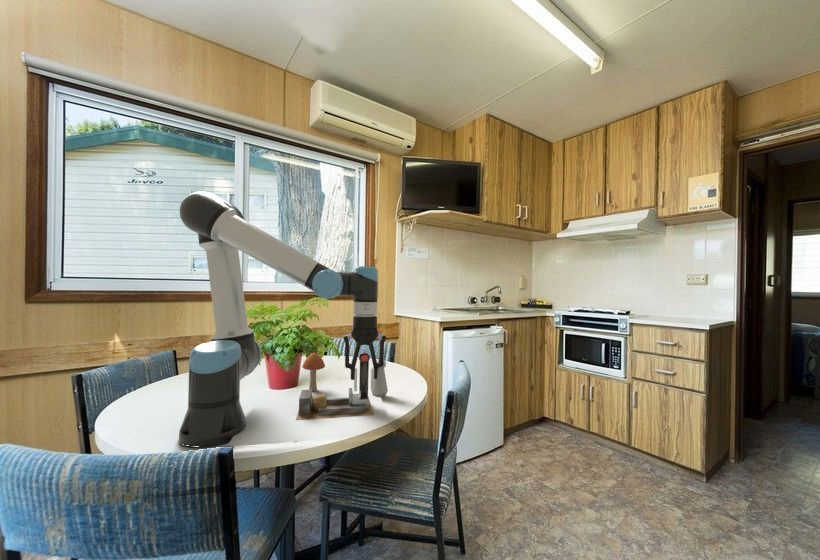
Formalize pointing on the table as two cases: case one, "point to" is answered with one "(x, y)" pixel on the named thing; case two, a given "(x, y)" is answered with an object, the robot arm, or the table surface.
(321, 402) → the brown wooden cube
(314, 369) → the mushroom
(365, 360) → the handle
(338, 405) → the press bench
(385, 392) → the salt shaker
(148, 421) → the table surface
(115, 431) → the table surface
